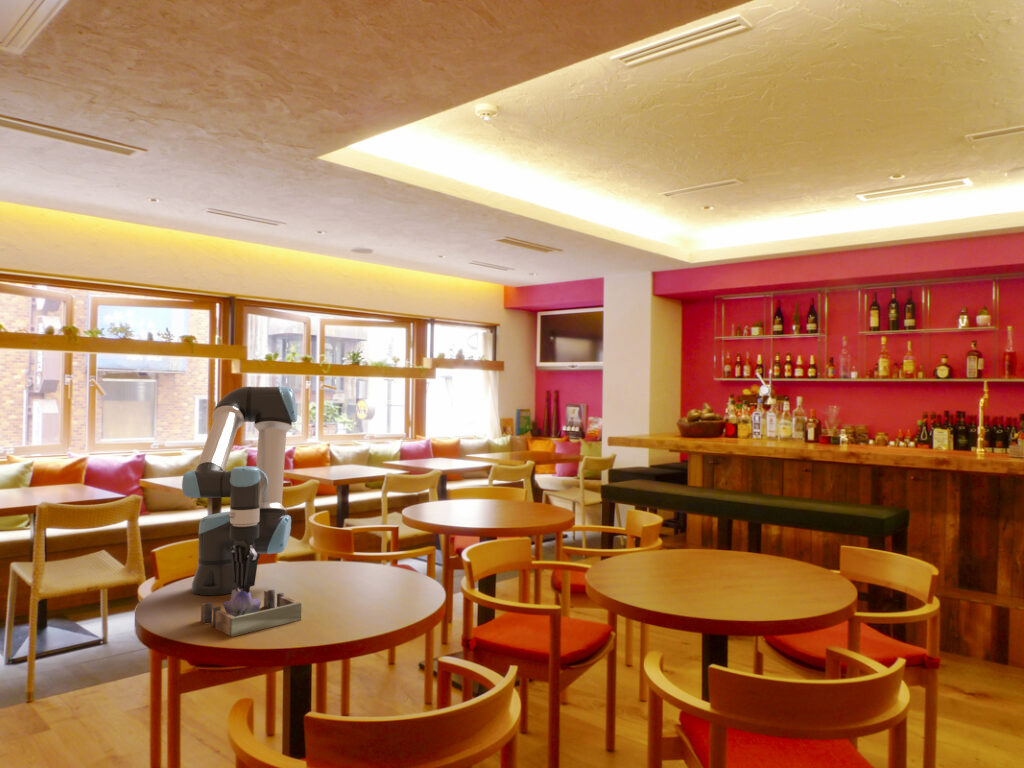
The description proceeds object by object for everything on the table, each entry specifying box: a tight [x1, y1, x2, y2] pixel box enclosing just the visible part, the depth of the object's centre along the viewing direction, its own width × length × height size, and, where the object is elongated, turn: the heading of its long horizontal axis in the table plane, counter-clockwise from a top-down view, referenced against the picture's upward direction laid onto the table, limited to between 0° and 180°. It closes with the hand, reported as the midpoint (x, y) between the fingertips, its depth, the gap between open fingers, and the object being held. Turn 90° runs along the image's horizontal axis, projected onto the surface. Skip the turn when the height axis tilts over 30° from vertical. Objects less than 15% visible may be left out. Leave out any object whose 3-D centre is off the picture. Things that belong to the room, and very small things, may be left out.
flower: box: [223, 590, 262, 617], centre depth 187 cm, size 9×9×10 cm
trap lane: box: [200, 589, 302, 638], centre depth 188 cm, size 18×20×5 cm
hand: (243, 611), depth 191 cm, fingers closed
